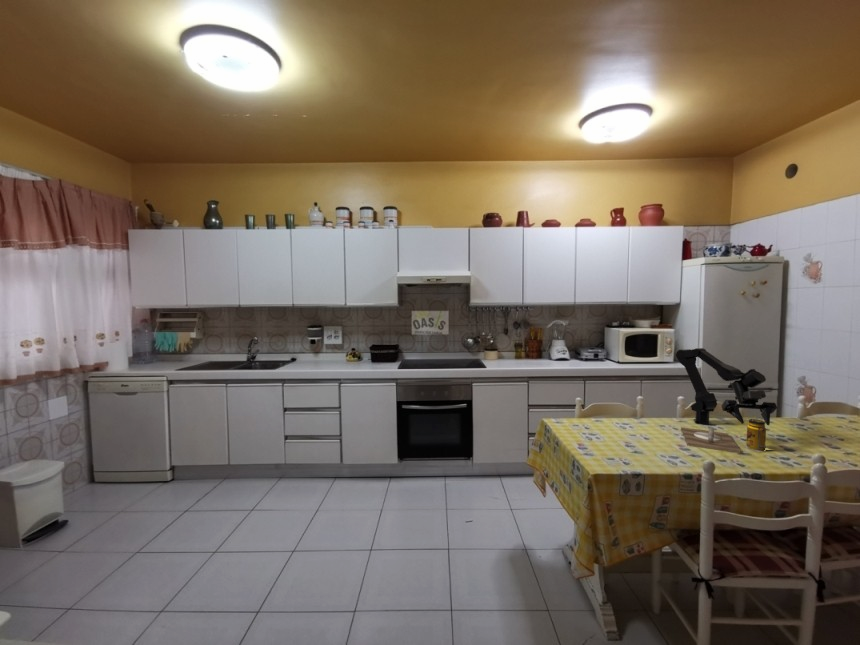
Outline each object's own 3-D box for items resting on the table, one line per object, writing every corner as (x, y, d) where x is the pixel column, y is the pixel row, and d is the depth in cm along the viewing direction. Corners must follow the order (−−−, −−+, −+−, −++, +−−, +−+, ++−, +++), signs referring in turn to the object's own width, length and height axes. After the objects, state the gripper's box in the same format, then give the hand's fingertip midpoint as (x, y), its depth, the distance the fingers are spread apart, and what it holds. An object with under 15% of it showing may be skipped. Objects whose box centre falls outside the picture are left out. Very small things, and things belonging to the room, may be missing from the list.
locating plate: (680, 429, 181) (681, 415, 180) (727, 435, 172) (727, 420, 172) (687, 445, 161) (688, 429, 161) (740, 453, 153) (740, 436, 152)
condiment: (740, 445, 161) (741, 418, 160) (757, 444, 162) (758, 417, 162) (758, 452, 154) (759, 424, 153) (775, 451, 155) (776, 422, 154)
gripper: (725, 381, 166) (737, 413, 156) (775, 384, 162) (791, 416, 151) (716, 395, 174) (727, 425, 164) (764, 397, 170) (778, 429, 159)
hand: (755, 424), depth 160 cm, fingers open, 9 cm apart
